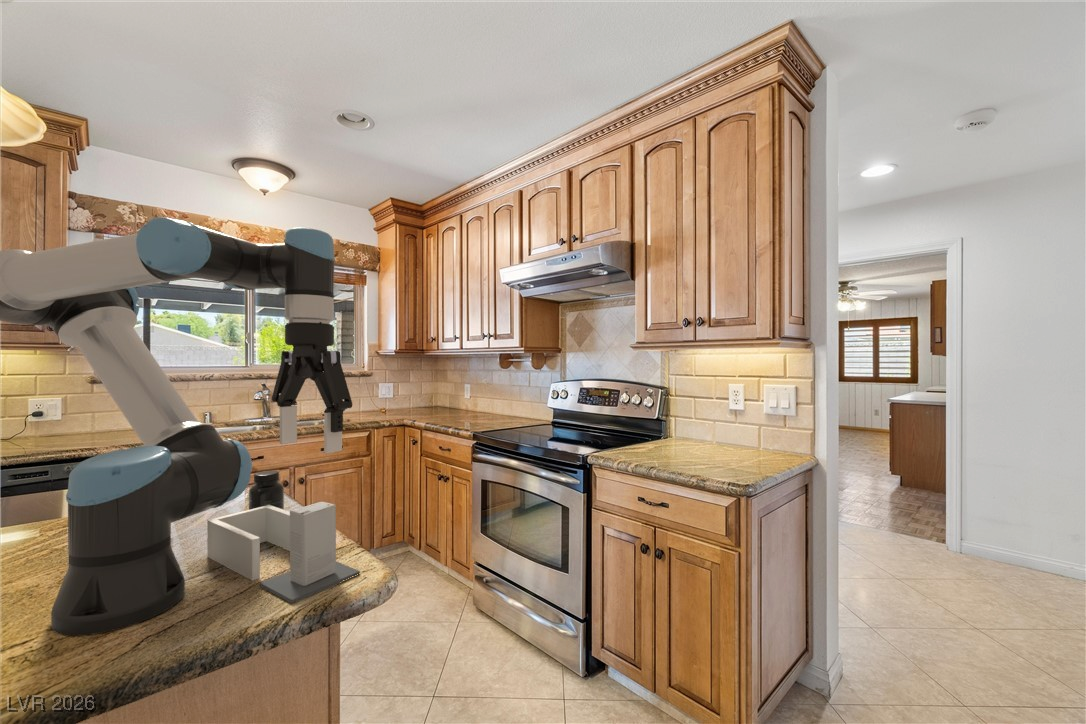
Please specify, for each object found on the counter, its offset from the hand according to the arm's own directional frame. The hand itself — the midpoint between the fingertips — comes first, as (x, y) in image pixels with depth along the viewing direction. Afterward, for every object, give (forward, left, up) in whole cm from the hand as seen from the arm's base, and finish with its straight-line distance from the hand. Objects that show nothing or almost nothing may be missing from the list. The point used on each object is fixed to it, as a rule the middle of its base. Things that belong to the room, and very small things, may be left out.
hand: (309, 447), depth 82 cm
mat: (0, 0, -23) cm, 23 cm away
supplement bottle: (+9, +33, -23) cm, 41 cm away
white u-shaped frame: (0, +16, -23) cm, 28 cm away
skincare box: (0, -1, -22) cm, 22 cm away
